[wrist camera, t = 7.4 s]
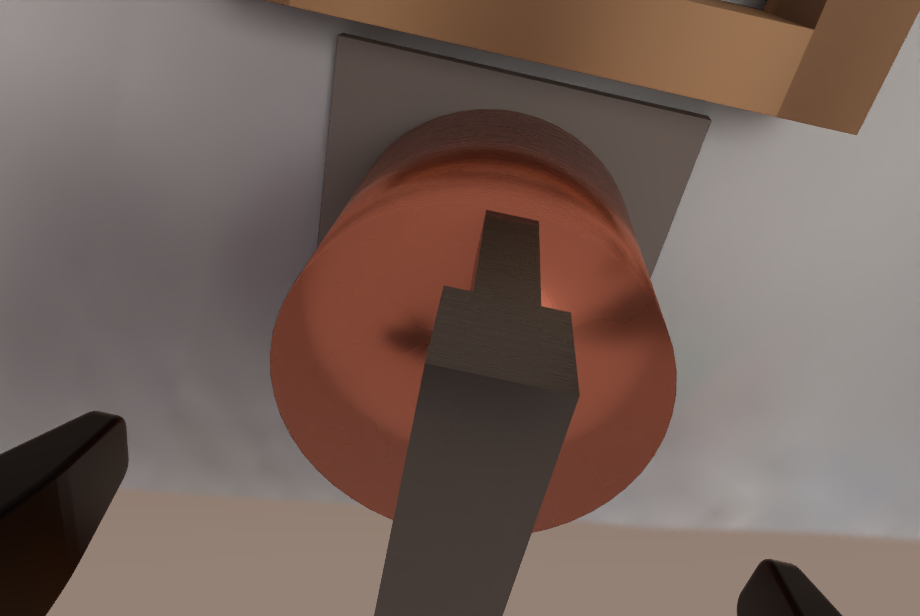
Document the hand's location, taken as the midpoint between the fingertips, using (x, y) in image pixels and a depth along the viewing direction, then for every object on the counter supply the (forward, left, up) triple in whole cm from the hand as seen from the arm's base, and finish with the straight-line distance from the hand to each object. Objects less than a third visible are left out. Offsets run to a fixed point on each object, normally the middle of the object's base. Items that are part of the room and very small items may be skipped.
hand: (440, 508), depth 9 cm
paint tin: (0, 0, -9) cm, 9 cm away
